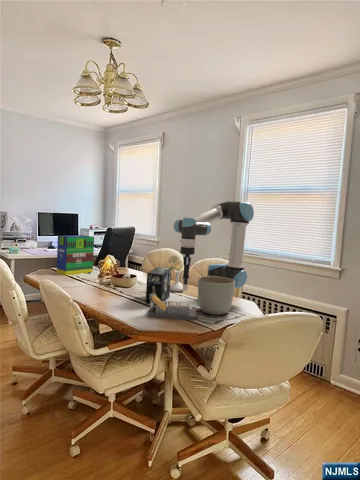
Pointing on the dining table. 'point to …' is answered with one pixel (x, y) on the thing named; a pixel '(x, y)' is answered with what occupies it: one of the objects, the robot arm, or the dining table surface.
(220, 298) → the planter
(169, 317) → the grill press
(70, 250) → the box
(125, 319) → the dining table surface
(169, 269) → the box
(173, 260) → the flower in vase
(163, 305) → the tan wooden bar
